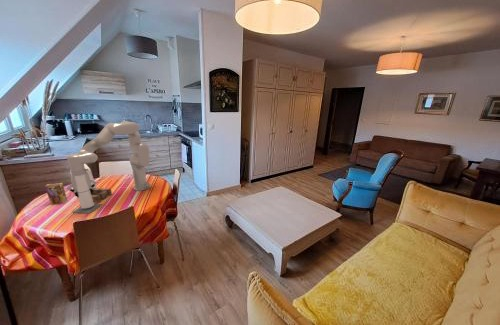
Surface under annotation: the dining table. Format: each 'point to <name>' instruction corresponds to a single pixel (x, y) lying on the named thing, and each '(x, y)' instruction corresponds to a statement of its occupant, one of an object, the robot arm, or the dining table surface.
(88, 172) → the milk
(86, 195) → the cylindrical container
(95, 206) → the mat
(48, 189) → the candy box
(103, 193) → the collar
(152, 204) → the dining table surface
